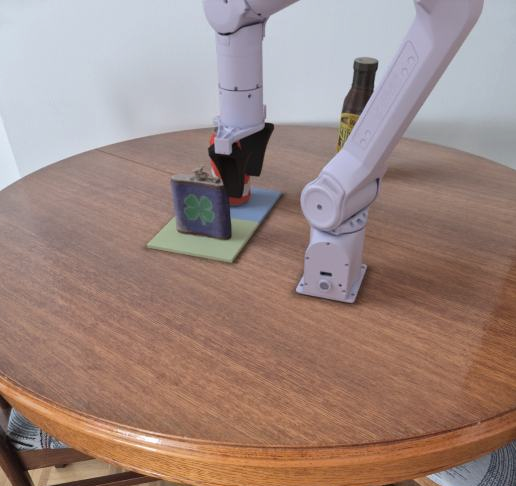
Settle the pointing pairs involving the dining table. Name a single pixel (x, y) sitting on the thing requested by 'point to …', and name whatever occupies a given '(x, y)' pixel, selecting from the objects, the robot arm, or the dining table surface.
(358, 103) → the sauce bottle
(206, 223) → the flask
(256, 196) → the sorting mat
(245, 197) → the beverage can
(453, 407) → the dining table surface
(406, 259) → the dining table surface
